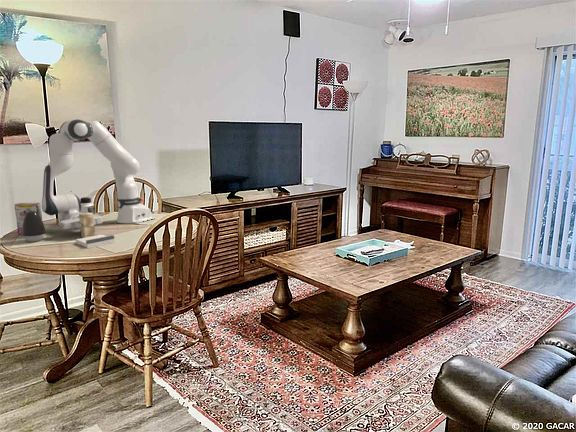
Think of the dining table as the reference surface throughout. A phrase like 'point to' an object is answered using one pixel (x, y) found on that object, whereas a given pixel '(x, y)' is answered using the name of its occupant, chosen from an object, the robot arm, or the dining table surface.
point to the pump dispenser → (33, 227)
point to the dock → (95, 241)
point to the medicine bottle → (87, 205)
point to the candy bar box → (25, 207)
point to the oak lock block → (87, 225)
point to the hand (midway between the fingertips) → (87, 224)
